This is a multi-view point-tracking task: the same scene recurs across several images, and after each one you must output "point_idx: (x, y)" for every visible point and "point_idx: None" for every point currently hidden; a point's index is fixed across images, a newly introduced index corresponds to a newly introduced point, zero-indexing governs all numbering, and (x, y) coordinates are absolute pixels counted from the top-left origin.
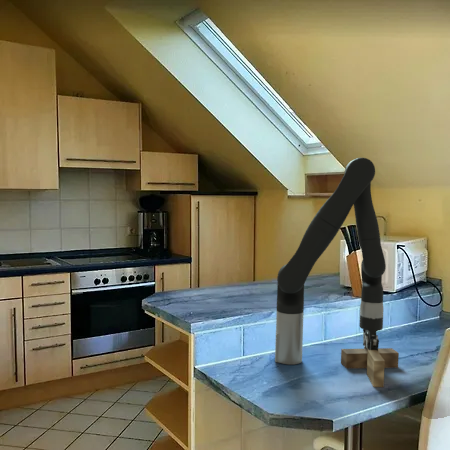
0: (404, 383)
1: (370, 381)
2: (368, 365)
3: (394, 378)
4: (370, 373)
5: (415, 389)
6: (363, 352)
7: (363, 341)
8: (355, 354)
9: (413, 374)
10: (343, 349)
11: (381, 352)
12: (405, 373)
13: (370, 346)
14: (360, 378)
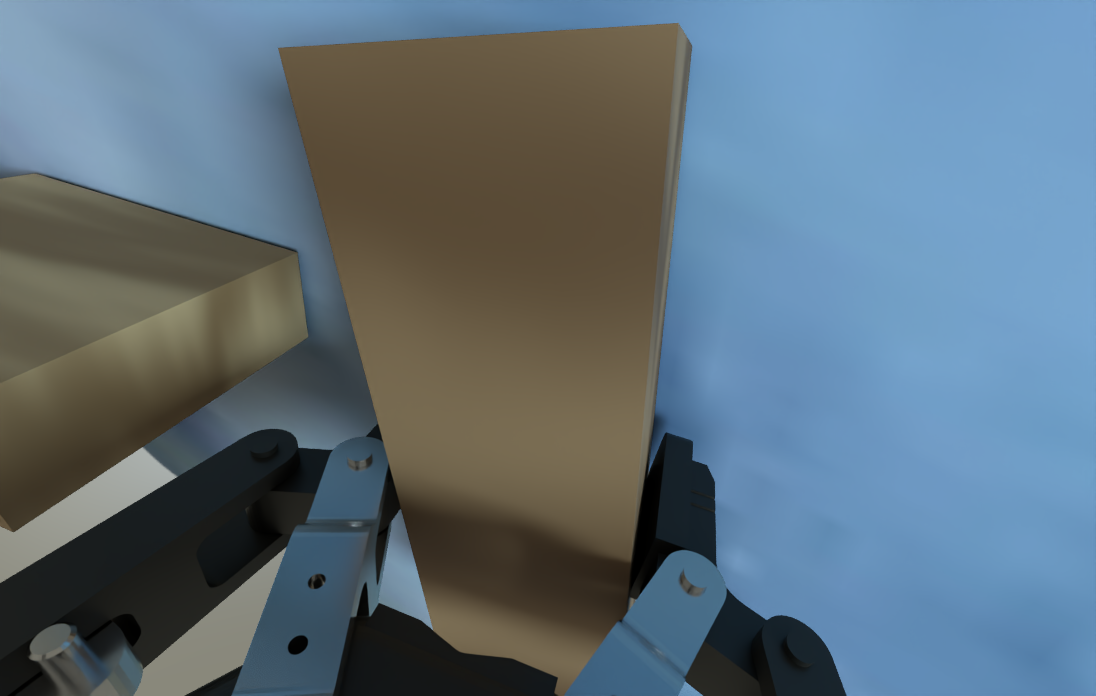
0: (227, 441)
1: (134, 204)
2: (110, 278)
3: (296, 434)
4: (60, 227)
5: (159, 442)
6: (421, 432)
7: (674, 690)
8: (347, 264)
9: (399, 575)
10: (615, 84)
11: (451, 618)
12: (409, 549)
13: (92, 550)
14: (198, 138)
